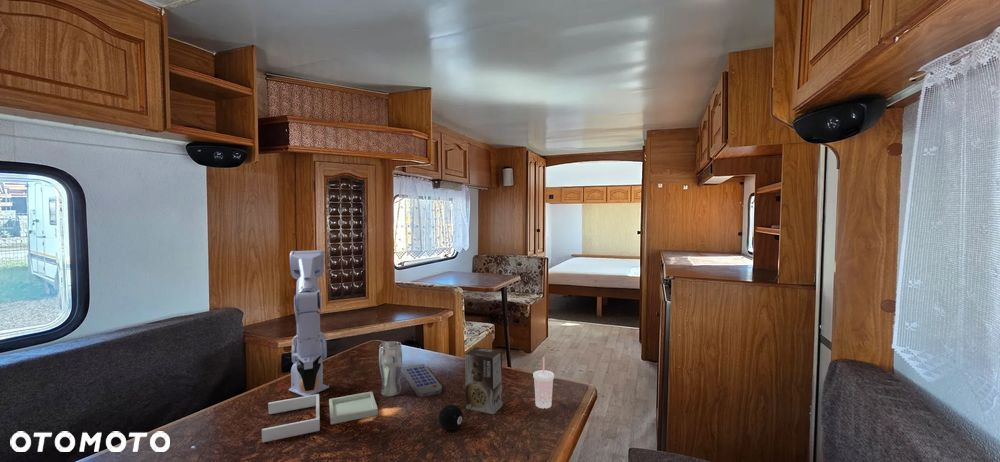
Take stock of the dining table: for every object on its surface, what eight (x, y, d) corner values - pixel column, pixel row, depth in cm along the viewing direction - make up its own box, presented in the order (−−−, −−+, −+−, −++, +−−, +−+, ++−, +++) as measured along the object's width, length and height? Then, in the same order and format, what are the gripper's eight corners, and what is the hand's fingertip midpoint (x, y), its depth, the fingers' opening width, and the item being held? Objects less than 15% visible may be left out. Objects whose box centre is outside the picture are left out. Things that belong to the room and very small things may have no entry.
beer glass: (396, 398, 120) (395, 349, 120) (375, 396, 122) (374, 347, 121) (406, 388, 127) (405, 341, 127) (386, 386, 129) (385, 340, 128)
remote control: (424, 369, 145) (424, 363, 145) (443, 393, 124) (443, 386, 124) (402, 372, 141) (401, 366, 141) (418, 398, 121) (418, 391, 121)
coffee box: (503, 405, 116) (503, 350, 115) (493, 415, 110) (493, 357, 109) (475, 399, 120) (475, 345, 119) (464, 408, 114) (464, 352, 113)
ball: (295, 393, 108) (295, 375, 108) (312, 386, 112) (312, 369, 112) (306, 397, 105) (306, 378, 105) (323, 390, 109) (323, 372, 109)
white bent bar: (262, 442, 97) (261, 430, 97) (268, 413, 112) (268, 402, 112) (319, 430, 103) (319, 419, 103) (319, 403, 117) (319, 393, 117)
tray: (330, 424, 106) (330, 418, 106) (329, 404, 116) (329, 399, 116) (377, 414, 111) (377, 408, 111) (372, 396, 121) (372, 391, 121)
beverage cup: (558, 404, 116) (558, 356, 116) (545, 412, 112) (545, 362, 111) (541, 397, 121) (541, 351, 120) (528, 404, 116) (528, 357, 115)
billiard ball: (452, 437, 99) (452, 413, 99) (434, 430, 103) (434, 407, 102) (467, 426, 104) (467, 404, 104) (449, 420, 108) (449, 398, 107)
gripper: (293, 331, 113) (295, 378, 114) (289, 346, 100) (291, 400, 100) (321, 328, 116) (322, 374, 116) (321, 342, 103) (322, 394, 103)
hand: (310, 385), depth 109 cm, fingers closed on ball, 5 cm apart
